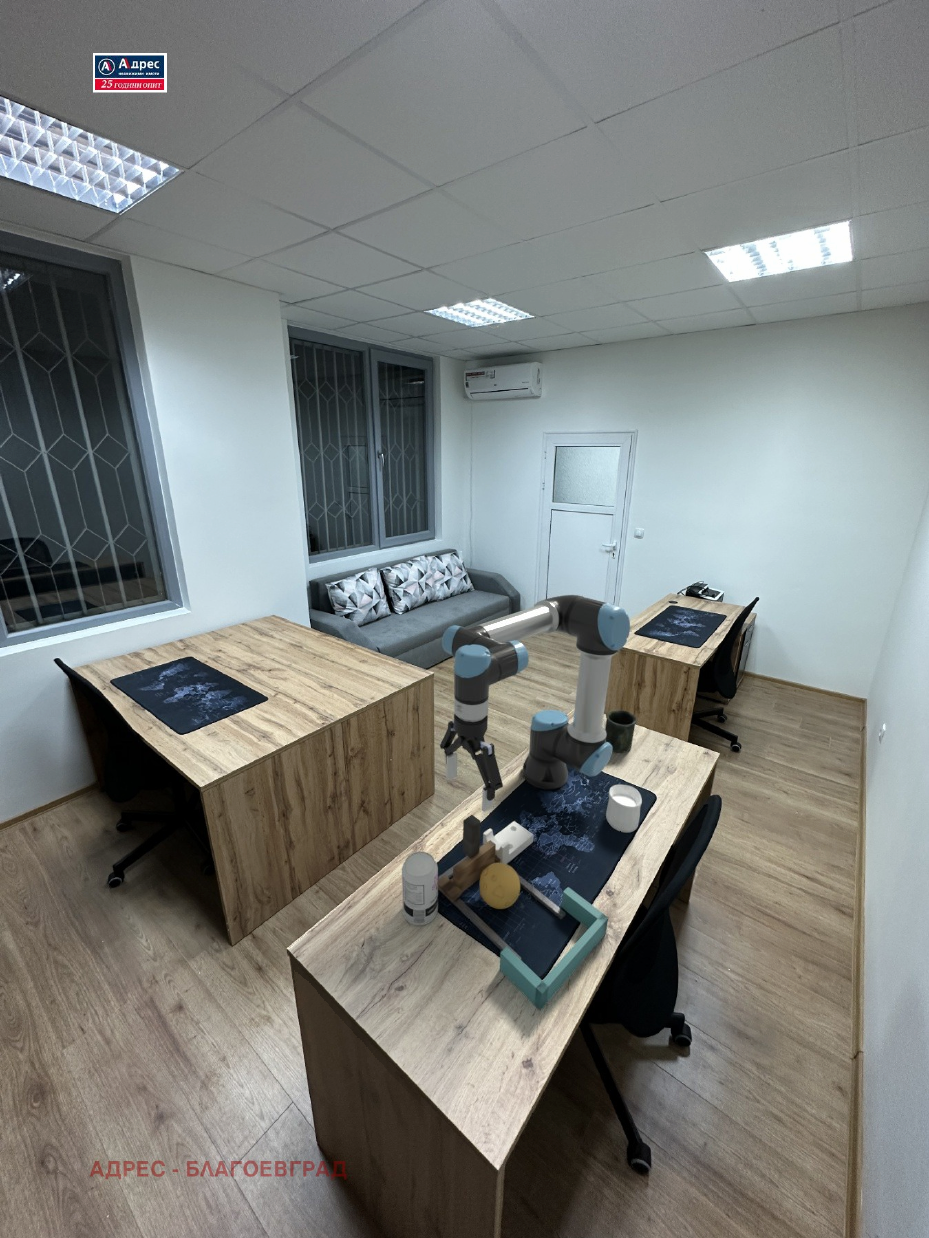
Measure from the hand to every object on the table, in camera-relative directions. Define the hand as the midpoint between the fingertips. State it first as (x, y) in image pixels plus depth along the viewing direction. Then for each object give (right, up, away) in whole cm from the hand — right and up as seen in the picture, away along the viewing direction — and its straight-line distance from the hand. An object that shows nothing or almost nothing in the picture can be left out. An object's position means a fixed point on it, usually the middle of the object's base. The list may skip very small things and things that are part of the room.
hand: (468, 792), depth 115 cm
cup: (+46, -20, +31) cm, 59 cm away
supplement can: (-12, -29, +1) cm, 31 cm away
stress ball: (+7, -28, +5) cm, 30 cm away
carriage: (+1, -25, +11) cm, 28 cm away
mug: (+57, -6, +69) cm, 90 cm away
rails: (+7, -28, +5) cm, 29 cm away
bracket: (+11, -23, +20) cm, 33 cm away
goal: (+19, -33, -7) cm, 38 cm away
